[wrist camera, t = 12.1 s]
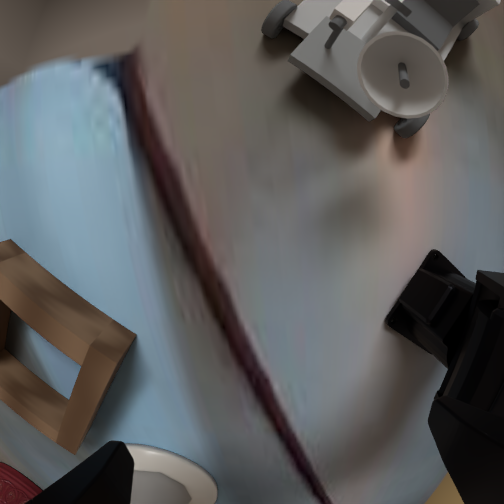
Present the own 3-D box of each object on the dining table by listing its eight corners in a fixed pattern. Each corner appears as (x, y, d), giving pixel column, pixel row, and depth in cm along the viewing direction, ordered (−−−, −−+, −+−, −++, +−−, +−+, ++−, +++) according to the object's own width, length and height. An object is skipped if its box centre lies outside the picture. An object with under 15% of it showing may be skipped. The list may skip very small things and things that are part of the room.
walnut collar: (136, 334, 20) (117, 363, 16) (90, 427, 22) (75, 455, 18) (10, 239, 18) (-22, 248, 14) (-10, 349, 20) (-33, 366, 16)
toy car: (473, 162, 9) (230, -25, 7) (377, 169, 19) (235, 65, 17) (530, -9, 6) (398, -116, 5) (463, 29, 16) (360, -52, 14)
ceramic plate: (241, 478, 24) (241, 484, 23) (186, 518, 26) (185, 523, 25) (117, 423, 22) (114, 429, 21) (88, 475, 24) (85, 479, 23)
